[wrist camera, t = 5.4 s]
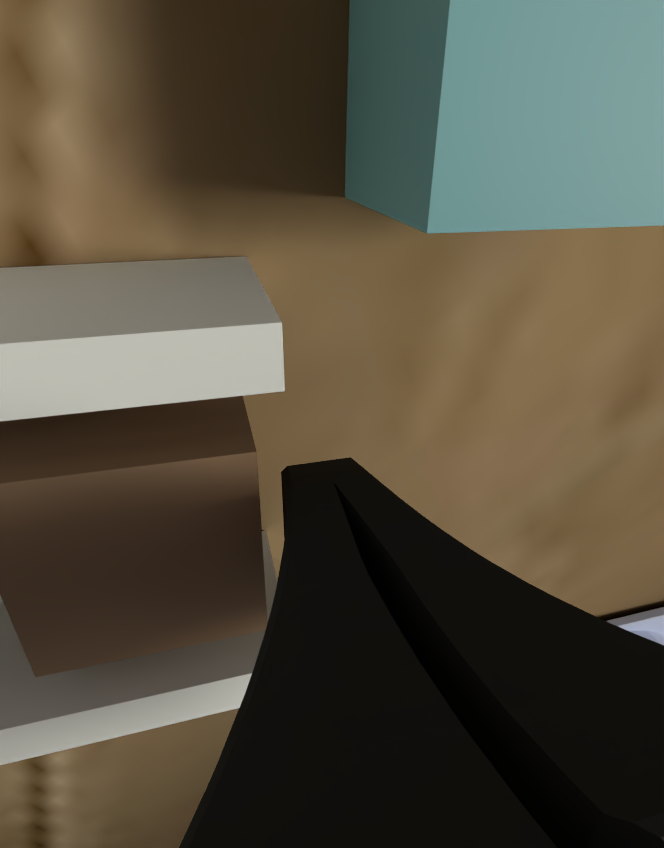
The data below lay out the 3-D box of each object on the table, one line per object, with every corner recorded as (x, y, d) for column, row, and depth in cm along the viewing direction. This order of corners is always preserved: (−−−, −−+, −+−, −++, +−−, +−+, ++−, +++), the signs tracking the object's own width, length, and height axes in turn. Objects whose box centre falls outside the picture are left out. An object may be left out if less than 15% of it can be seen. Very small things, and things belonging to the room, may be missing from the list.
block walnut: (243, 500, 13) (268, 630, 10) (73, 525, 12) (34, 677, 9) (231, 352, 11) (256, 451, 8) (26, 369, 10) (-45, 489, 7)
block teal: (523, 193, 11) (675, 224, 8) (343, 197, 10) (426, 233, 7) (569, -55, 9) (797, -157, 6) (350, -78, 8) (472, -216, 5)
